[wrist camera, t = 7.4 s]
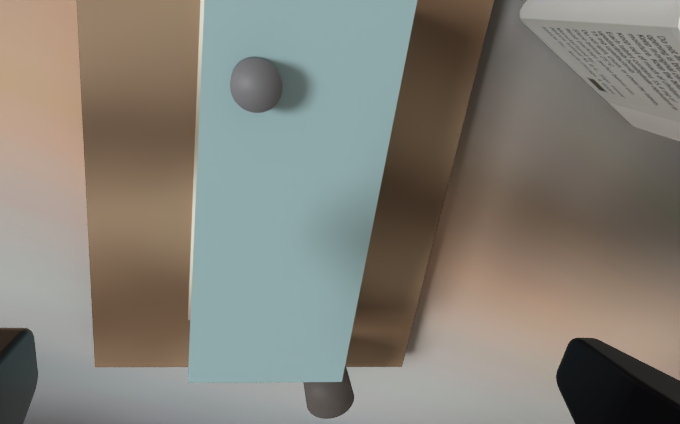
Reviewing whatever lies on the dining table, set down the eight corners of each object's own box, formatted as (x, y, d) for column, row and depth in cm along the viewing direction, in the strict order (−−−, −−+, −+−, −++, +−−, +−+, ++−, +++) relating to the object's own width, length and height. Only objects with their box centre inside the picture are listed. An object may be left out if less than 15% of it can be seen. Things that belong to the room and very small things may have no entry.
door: (324, 312, 20) (346, 399, 15) (198, 309, 19) (184, 402, 14) (377, -2, 15) (428, -3, 11) (216, -31, 14) (203, -45, 10)
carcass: (395, 352, 23) (423, 417, 19) (101, 350, 20) (69, 427, 16) (499, -77, 16) (572, -99, 13) (79, -173, 13) (17, -238, 10)
